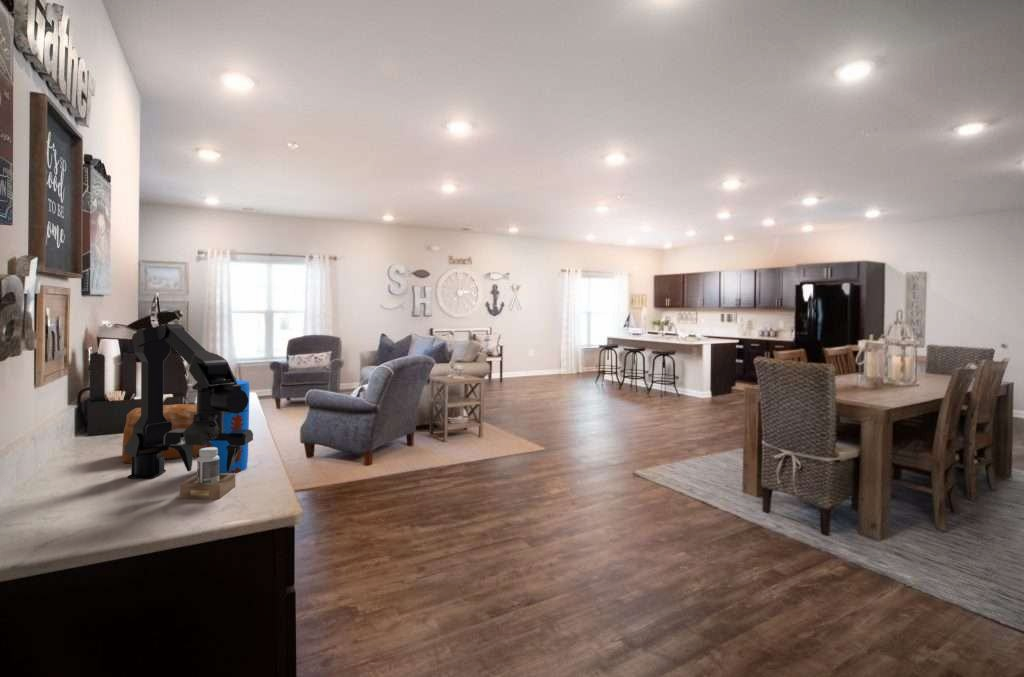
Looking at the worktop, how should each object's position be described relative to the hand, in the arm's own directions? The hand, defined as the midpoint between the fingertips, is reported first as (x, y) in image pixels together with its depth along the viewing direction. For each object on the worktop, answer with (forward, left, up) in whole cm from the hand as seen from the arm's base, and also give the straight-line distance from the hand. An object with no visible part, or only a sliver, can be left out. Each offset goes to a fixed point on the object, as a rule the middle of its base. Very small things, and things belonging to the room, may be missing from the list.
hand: (208, 471), depth 128 cm
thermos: (-4, +20, -6) cm, 21 cm away
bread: (-26, +36, -6) cm, 44 cm away
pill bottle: (0, 0, -3) cm, 3 cm away
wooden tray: (0, 0, -5) cm, 5 cm away
